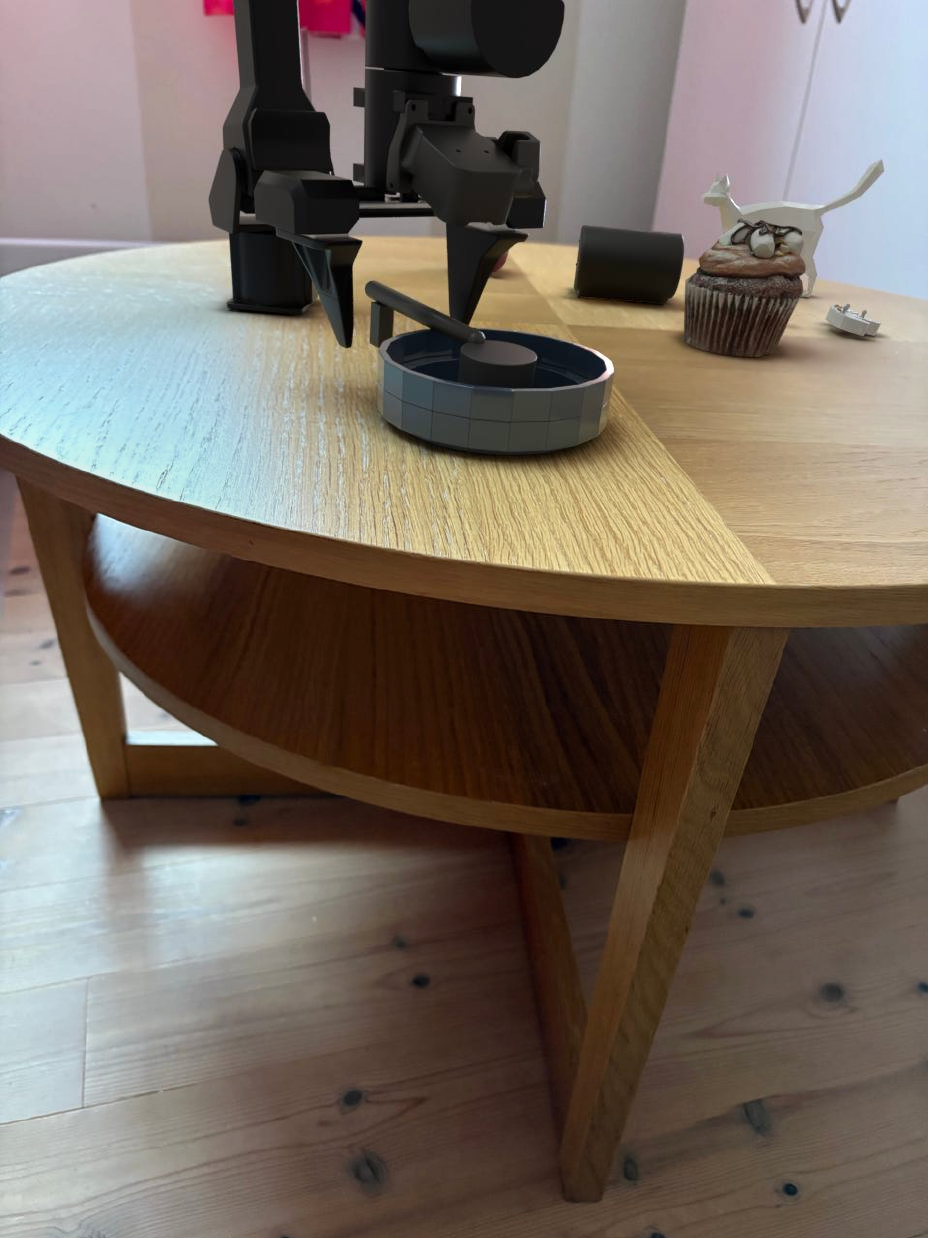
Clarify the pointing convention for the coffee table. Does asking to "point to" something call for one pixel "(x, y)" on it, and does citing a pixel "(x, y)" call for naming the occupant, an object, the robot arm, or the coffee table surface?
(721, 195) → the cat figurine
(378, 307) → the ladle
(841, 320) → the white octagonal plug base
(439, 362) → the bowl
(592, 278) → the end cap
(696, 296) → the cupcake
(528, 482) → the coffee table surface
